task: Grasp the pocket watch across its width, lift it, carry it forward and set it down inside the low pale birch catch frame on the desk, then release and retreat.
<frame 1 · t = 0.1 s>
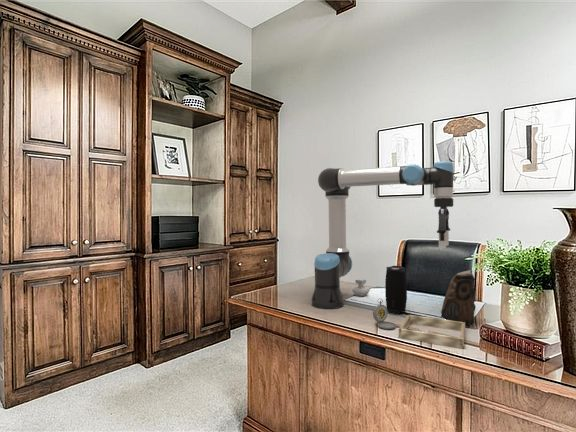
hand: (443, 247, 146), 28 cm above the table, fingers open, 13 cm apart
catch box: (432, 334, 120), on the table
portable speaker: (396, 312, 146), on the table
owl: (457, 320, 134), on the table
pocket watch: (384, 326, 129), on the table
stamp: (360, 295, 175), on the table
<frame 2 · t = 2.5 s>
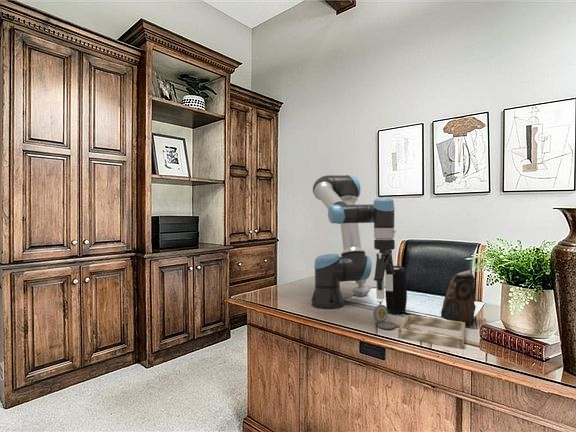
hand: (385, 294, 128), 12 cm above the table, fingers open, 13 cm apart
nothing on the table moved.
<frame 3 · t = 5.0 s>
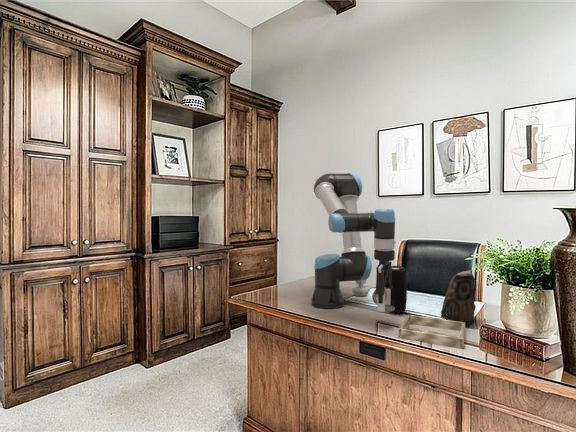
hand: (383, 307, 129), 7 cm above the table, fingers closed on pocket watch, 8 cm apart
pocket watch: (383, 309, 130), point 6 cm above the table, touching gripper
everything else where it was.
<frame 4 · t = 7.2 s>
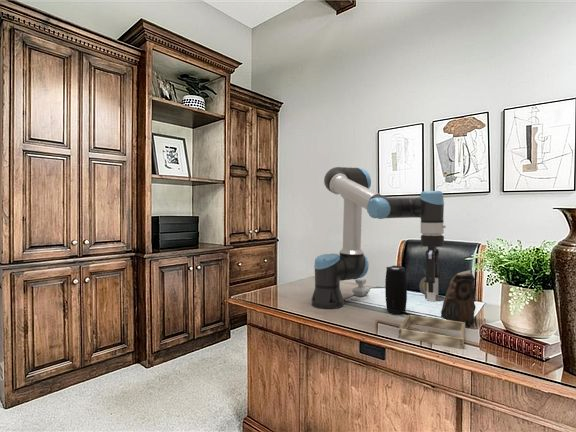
hand: (432, 298, 120), 13 cm above the table, fingers closed on pocket watch, 8 cm apart
pocket watch: (432, 299, 120), point 12 cm above the table, touching gripper
everything else where it was.
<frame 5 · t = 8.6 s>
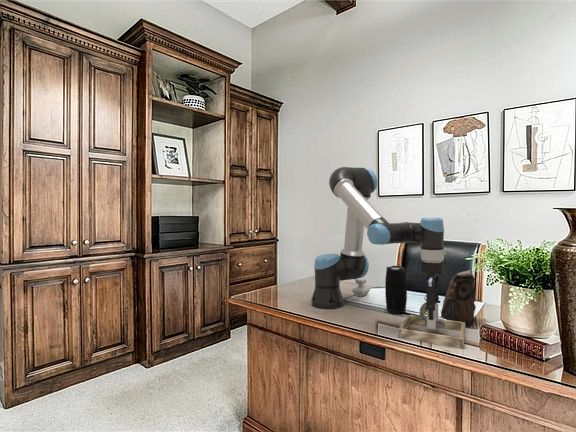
hand: (432, 324, 120), 3 cm above the table, fingers closed on pocket watch, 8 cm apart
pocket watch: (432, 325, 120), point 3 cm above the table, touching gripper
everything else where it was.
when the fingers open (2 cm above the table, at t = 9.5 s): pocket watch drops 1 cm, resting in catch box.
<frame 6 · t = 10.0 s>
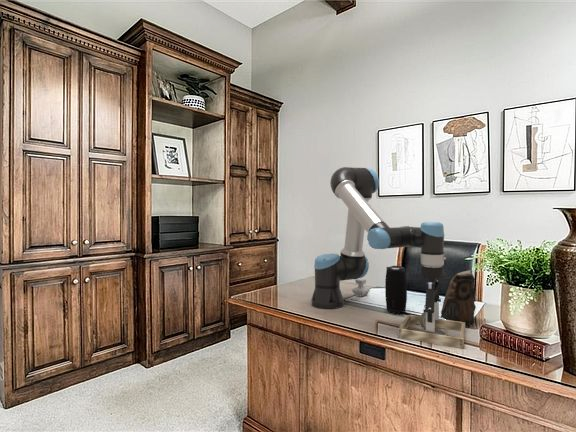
hand: (432, 325, 120), 3 cm above the table, fingers open, 13 cm apart
pocket watch: (432, 334, 120), resting in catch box
everything else where it was.
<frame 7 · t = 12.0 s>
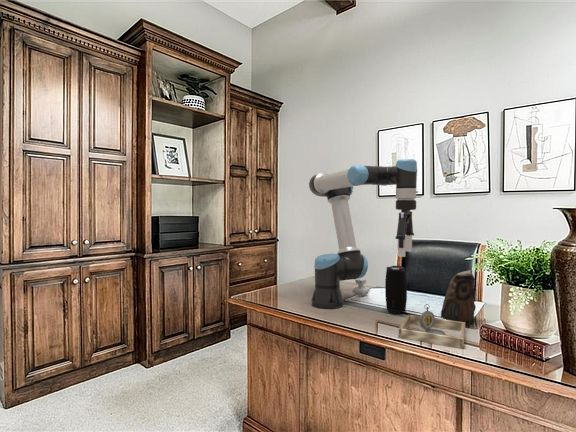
hand: (404, 254, 132), 27 cm above the table, fingers open, 13 cm apart
nothing on the table moved.
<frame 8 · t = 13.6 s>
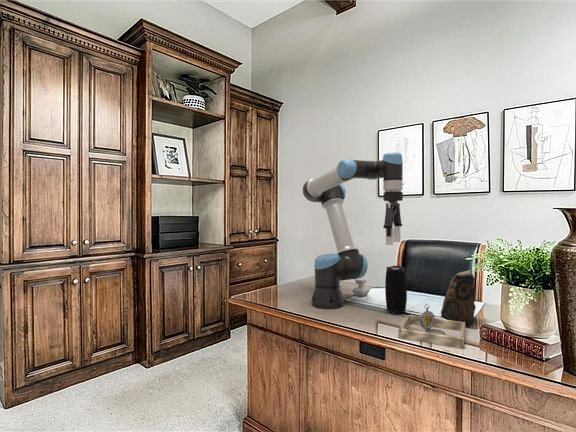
hand: (393, 243, 137), 31 cm above the table, fingers open, 13 cm apart
nothing on the table moved.
at the end: pocket watch inside the target area on the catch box (0.2 cm from its centre), point 0.0 cm above the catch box's base; the gripper is holding nothing; pocket watch moved 17.0 cm from its start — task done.
